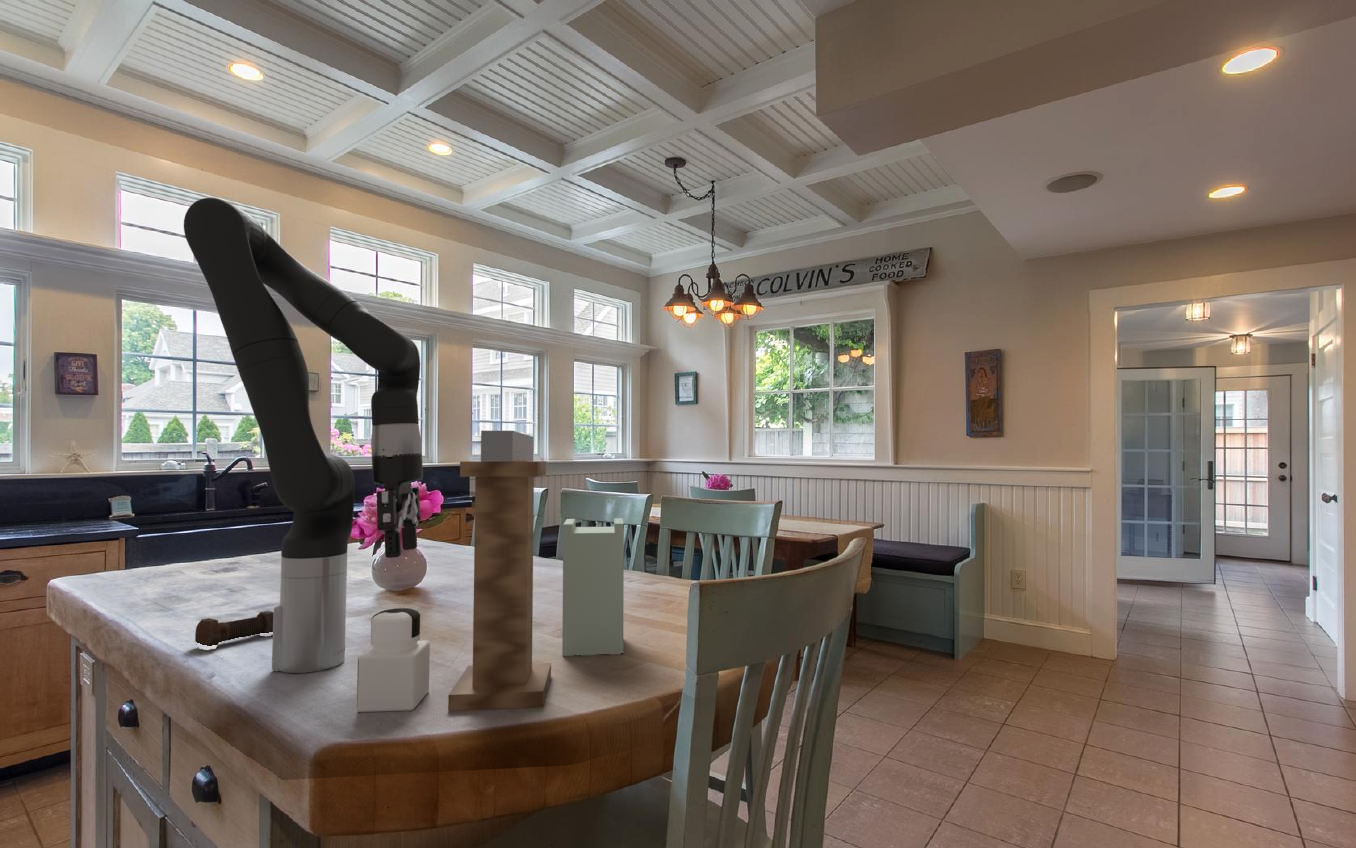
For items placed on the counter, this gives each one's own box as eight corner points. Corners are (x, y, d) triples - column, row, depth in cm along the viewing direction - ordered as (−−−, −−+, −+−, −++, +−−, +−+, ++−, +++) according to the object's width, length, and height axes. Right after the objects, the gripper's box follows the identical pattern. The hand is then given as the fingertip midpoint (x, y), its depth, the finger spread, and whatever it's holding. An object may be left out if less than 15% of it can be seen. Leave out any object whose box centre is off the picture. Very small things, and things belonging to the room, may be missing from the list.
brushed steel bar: (480, 461, 84) (481, 430, 84) (508, 461, 108) (508, 436, 108) (512, 461, 84) (512, 430, 85) (533, 461, 108) (533, 437, 108)
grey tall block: (562, 656, 107) (563, 524, 108) (566, 639, 117) (566, 518, 118) (623, 654, 108) (623, 523, 109) (622, 637, 118) (622, 518, 119)
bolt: (291, 640, 124) (203, 659, 111) (279, 624, 126) (191, 640, 113) (302, 615, 123) (214, 630, 110) (289, 599, 125) (201, 612, 112)
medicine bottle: (376, 693, 90) (378, 605, 91) (429, 691, 91) (431, 604, 92) (355, 713, 83) (357, 618, 84) (413, 711, 84) (415, 616, 84)
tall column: (448, 711, 84) (452, 461, 86) (467, 679, 96) (471, 461, 97) (543, 706, 85) (545, 461, 87) (550, 676, 97) (552, 461, 99)
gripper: (387, 455, 113) (392, 549, 112) (356, 454, 99) (361, 562, 98) (432, 452, 114) (437, 545, 113) (407, 450, 99) (413, 557, 99)
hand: (402, 553), depth 105 cm, fingers open, 8 cm apart
